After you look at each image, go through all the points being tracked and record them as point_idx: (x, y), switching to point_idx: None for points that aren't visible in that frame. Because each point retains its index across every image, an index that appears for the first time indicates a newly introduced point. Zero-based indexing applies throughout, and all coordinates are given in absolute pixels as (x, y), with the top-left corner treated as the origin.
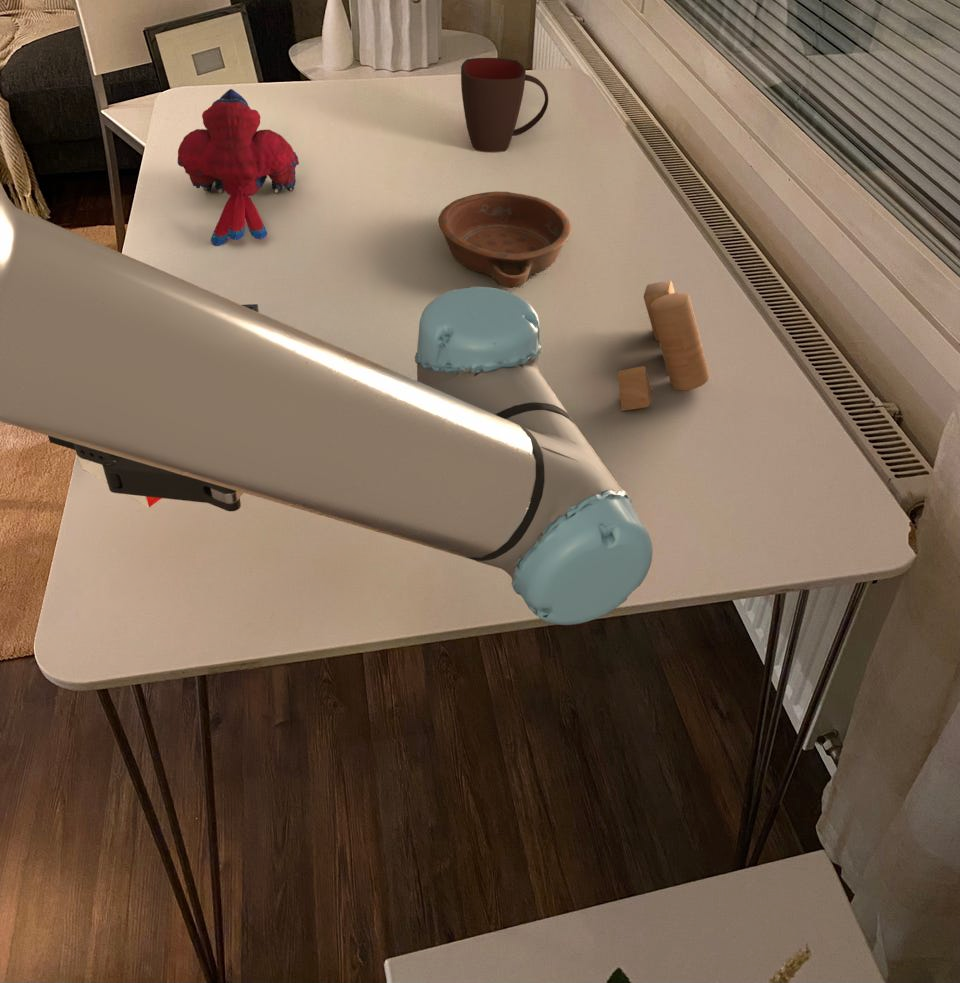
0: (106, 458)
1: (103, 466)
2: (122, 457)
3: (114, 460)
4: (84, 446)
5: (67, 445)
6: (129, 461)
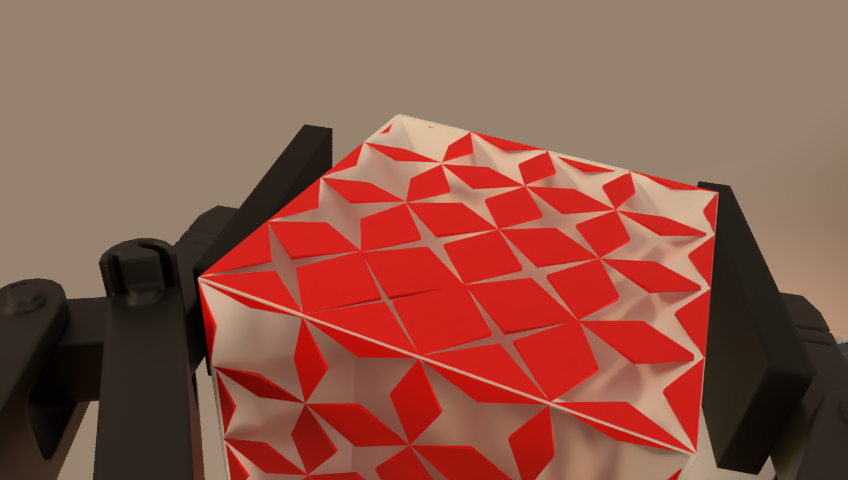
0: (53, 283)
1: (6, 289)
2: (101, 334)
3: (26, 305)
4: (184, 233)
5: None
6: (9, 352)
